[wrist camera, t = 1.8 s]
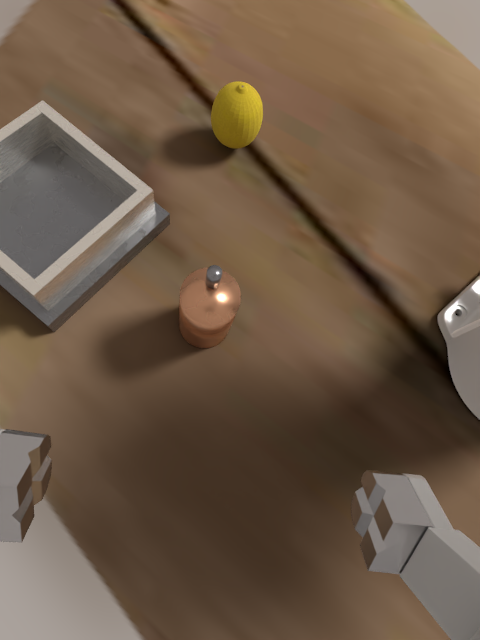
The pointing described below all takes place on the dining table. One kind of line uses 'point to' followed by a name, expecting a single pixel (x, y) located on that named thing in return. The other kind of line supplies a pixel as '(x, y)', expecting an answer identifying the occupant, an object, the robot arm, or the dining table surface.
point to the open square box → (66, 215)
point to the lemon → (236, 115)
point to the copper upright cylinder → (208, 306)
